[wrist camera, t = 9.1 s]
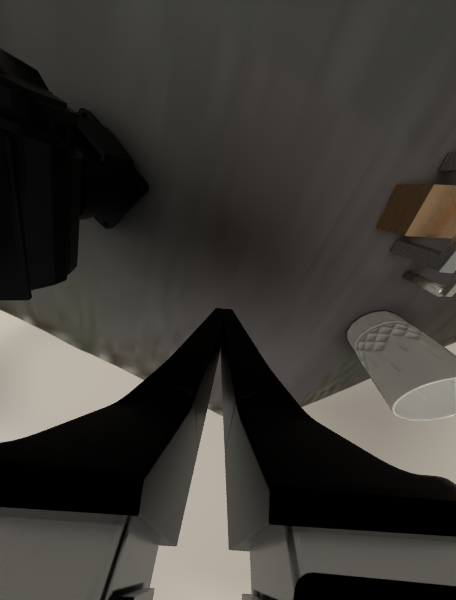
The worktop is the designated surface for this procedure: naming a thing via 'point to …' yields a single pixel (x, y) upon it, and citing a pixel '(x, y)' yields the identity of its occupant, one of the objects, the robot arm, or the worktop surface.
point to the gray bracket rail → (432, 253)
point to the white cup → (406, 366)
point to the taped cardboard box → (421, 211)
